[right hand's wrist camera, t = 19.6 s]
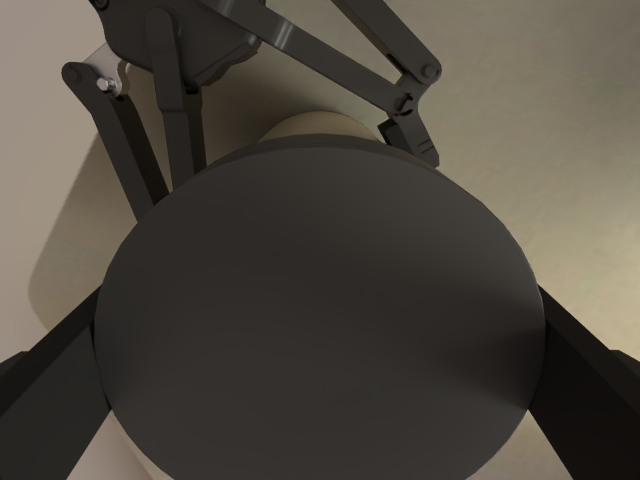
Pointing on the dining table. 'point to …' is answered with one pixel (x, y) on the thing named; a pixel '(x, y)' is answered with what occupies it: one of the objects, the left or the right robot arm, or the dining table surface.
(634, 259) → the dining table surface
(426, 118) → the dining table surface
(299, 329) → the lid
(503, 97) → the dining table surface
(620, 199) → the dining table surface
